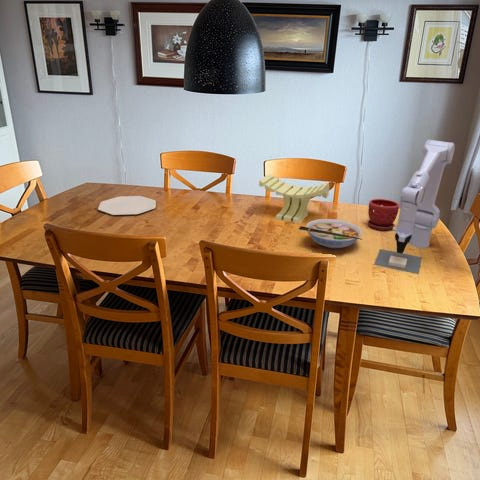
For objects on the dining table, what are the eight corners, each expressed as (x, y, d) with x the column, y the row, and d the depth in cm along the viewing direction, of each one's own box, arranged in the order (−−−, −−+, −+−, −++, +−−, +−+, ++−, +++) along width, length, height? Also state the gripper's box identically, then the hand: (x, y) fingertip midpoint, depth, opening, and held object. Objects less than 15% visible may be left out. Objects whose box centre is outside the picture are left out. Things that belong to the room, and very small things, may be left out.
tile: (390, 255, 164) (388, 261, 159) (407, 258, 162) (405, 265, 157) (390, 258, 165) (388, 265, 160) (406, 262, 163) (404, 268, 158)
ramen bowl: (366, 240, 182) (369, 223, 179) (357, 262, 163) (360, 242, 160) (309, 230, 192) (311, 213, 188) (294, 249, 172) (296, 230, 169)
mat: (379, 250, 173) (380, 248, 173) (421, 259, 167) (421, 257, 167) (373, 266, 160) (373, 264, 160) (418, 276, 154) (418, 274, 154)
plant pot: (400, 229, 196) (405, 204, 191) (380, 234, 190) (385, 208, 185) (379, 219, 207) (383, 196, 202) (359, 224, 200) (363, 200, 195)
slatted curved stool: (325, 215, 209) (330, 180, 202) (317, 226, 196) (322, 189, 189) (268, 206, 220) (270, 172, 213) (257, 215, 207) (259, 180, 200)
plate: (130, 195, 231) (130, 192, 230) (167, 206, 216) (167, 203, 216) (87, 208, 210) (87, 205, 210) (124, 221, 196) (124, 218, 195)
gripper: (397, 211, 164) (391, 243, 169) (392, 223, 151) (386, 257, 157) (417, 214, 161) (410, 247, 166) (413, 227, 149) (406, 261, 154)
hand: (399, 252), depth 161 cm, fingers closed
